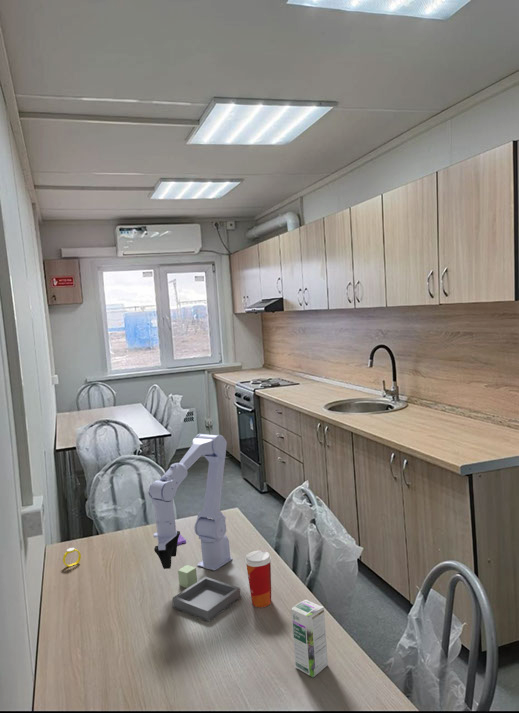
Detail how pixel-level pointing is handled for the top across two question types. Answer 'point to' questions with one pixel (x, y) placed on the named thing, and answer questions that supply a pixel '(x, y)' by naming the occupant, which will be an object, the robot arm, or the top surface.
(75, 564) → the gold ring
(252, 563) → the pill bottle
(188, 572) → the green block
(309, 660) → the syrup box
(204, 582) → the tray
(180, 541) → the sponges
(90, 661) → the top surface
